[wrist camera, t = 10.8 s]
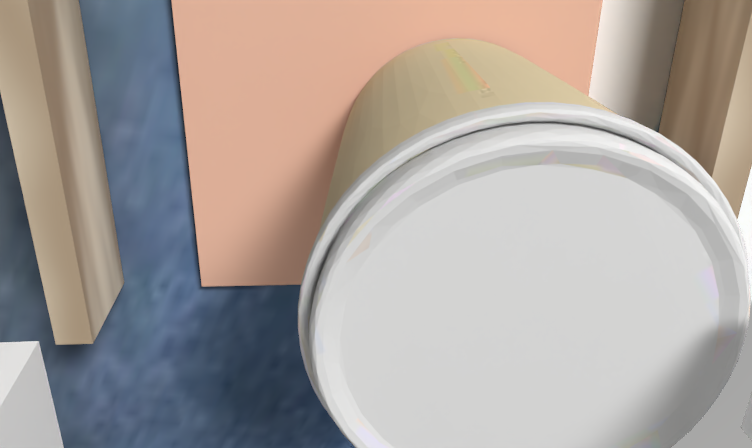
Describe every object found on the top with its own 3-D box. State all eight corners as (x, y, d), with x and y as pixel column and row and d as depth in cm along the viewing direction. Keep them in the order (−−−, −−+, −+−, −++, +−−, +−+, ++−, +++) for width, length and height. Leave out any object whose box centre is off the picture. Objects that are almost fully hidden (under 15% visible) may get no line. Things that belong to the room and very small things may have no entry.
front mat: (203, 281, 27) (201, 286, 27) (172, -18, 22) (169, -17, 22) (557, 274, 28) (560, 279, 27) (600, -14, 23) (604, -13, 23)
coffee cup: (518, 289, 27) (629, 551, 16) (288, 223, 26) (243, 465, 15) (630, 63, 24) (867, 210, 13) (368, -30, 22) (385, 46, 11)
